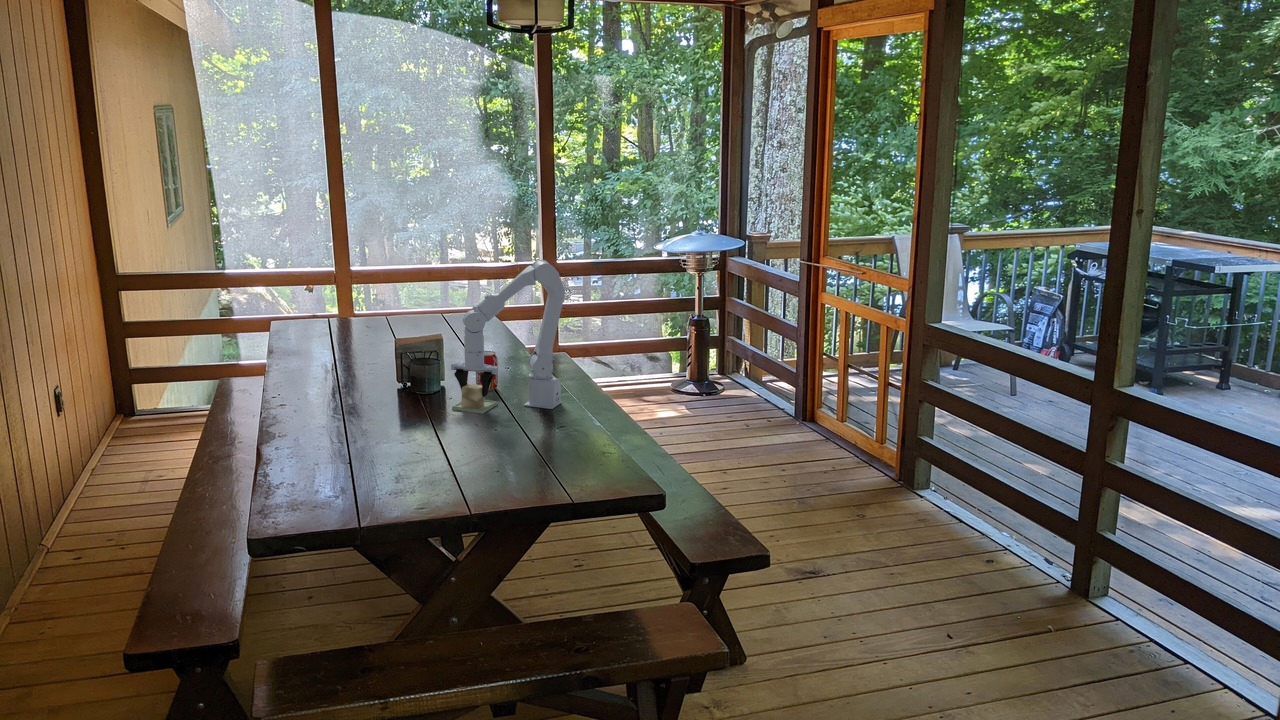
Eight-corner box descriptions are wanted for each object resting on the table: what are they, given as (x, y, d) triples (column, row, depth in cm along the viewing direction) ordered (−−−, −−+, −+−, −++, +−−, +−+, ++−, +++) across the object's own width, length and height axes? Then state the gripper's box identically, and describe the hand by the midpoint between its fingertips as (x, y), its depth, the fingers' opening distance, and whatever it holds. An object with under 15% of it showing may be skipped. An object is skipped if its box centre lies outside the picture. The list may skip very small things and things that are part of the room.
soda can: (493, 392, 298) (493, 356, 295) (472, 390, 299) (472, 354, 296) (501, 387, 304) (500, 351, 301) (480, 385, 306) (480, 349, 303)
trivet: (497, 404, 284) (497, 401, 284) (482, 413, 275) (482, 410, 274) (467, 401, 287) (467, 397, 287) (452, 409, 277) (452, 406, 277)
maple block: (483, 405, 280) (484, 385, 279) (476, 408, 276) (477, 389, 274) (468, 402, 282) (469, 383, 280) (461, 406, 277) (462, 387, 276)
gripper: (502, 350, 279) (502, 393, 282) (457, 346, 282) (458, 389, 285) (492, 355, 272) (492, 399, 275) (447, 351, 276) (448, 395, 279)
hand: (474, 394), depth 280 cm, fingers open, 6 cm apart
